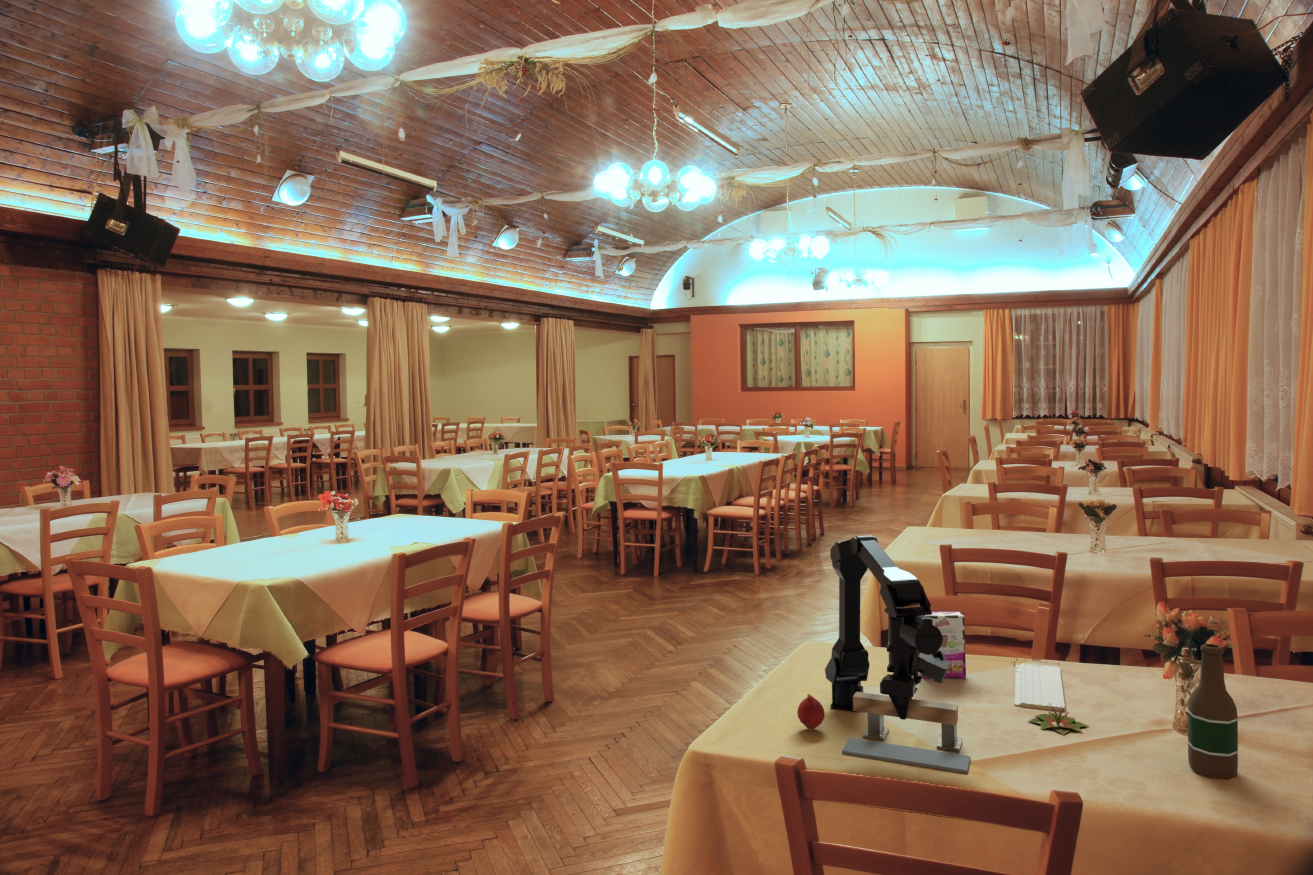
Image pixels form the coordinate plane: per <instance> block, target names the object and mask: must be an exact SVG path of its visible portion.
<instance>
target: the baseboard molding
mask: <svg viewBox="0 0 1313 875" xmlns="http://www.w3.org/2000/svg"><path fill="white" fill-rule="evenodd" d="M1015 661H1018V658H1016V659H1015ZM1015 661H1011V662H1010V663H1011V664H1013V666H1015V679H1014V706H1015V705H1016V706H1015V707H1020V706H1026V707H1025V708H1029V707H1032V708H1031V709H1037V708H1039V709H1038V710H1046V711H1047V710H1048V711H1050V710H1051V711H1053V710H1055V711H1056V710H1057V711H1056V712H1061V710H1062V709H1063V708H1064V707H1066V705H1065V699H1064V698H1065V697H1064V688H1063V681H1062V674H1061V667H1060V666H1059V665H1060V663H1059V662H1058V663H1054V662H1052V664H1056V665H1058V666H1056V665H1046V664H1044V663H1047V662H1043V661H1042V663H1043V664H1044V665H1043V664H1032V663H1026V662H1022V663H1020V664H1016V662H1015ZM1022 661H1027V660H1022ZM1031 661H1032V662H1035V663H1036V662H1040V659H1034V658H1033V659H1031ZM1016 667H1019V668H1017V669H1016ZM1016 671H1018V672H1019V673H1018V672H1016ZM1049 703H1050V704H1051V706H1050V705H1049ZM1048 706H1049V707H1048ZM1061 706H1062V707H1061ZM1052 707H1053V708H1054V709H1053V708H1052ZM1051 708H1052V709H1053V710H1052V709H1051ZM1060 708H1061V710H1060ZM1059 710H1060V711H1059ZM1065 711H1066V708H1065V709H1064V712H1065Z"/></svg>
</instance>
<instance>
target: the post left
mask: <svg viewBox="0 0 1313 875" xmlns="http://www.w3.org/2000/svg"><path fill="white" fill-rule="evenodd" d="M889 731H890V727H888V726H885V715H879V714H872V713H867V727H866V728H865V730H864V732H863V734H862V738H863V739H864V738H865V739H871V740H872V739H873V740H878V741H885V739H886V738H887V735H888V733H889Z"/></svg>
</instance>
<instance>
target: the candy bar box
mask: <svg viewBox="0 0 1313 875" xmlns="http://www.w3.org/2000/svg"><path fill="white" fill-rule="evenodd" d="M925 616H926V617H930V618H932V620H933V625H934V626H936V627H937V628H938V629H939V630H940V631H941V634H942V636H943V642H942V645H941V647H940V649H939V650H940V651H942V652H944V657H945V661H946V660H947V661H948V663H949V666H948V669H947V671H946V674H945V677H944V679H966V678H967V666H966V665H967V664H966V663H967V662H966V660H967V659H966V635H965V634H966V632H965V630H966V629H965V615H964V614H963V613H962V612H961V611H932V615H925ZM919 674H920V676H922V679H930V678H929V677H927V676H925V675H922V674H921V673H919Z"/></svg>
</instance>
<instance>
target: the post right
mask: <svg viewBox="0 0 1313 875" xmlns="http://www.w3.org/2000/svg"><path fill="white" fill-rule="evenodd" d="M940 724H941V734H940V735H939V737H938V740H937V744H936V750H944V751H949V752H956V753H960V751H961V747H962V743H963V738H962V737H958V724H957V725H950V724H943V723H940Z"/></svg>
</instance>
